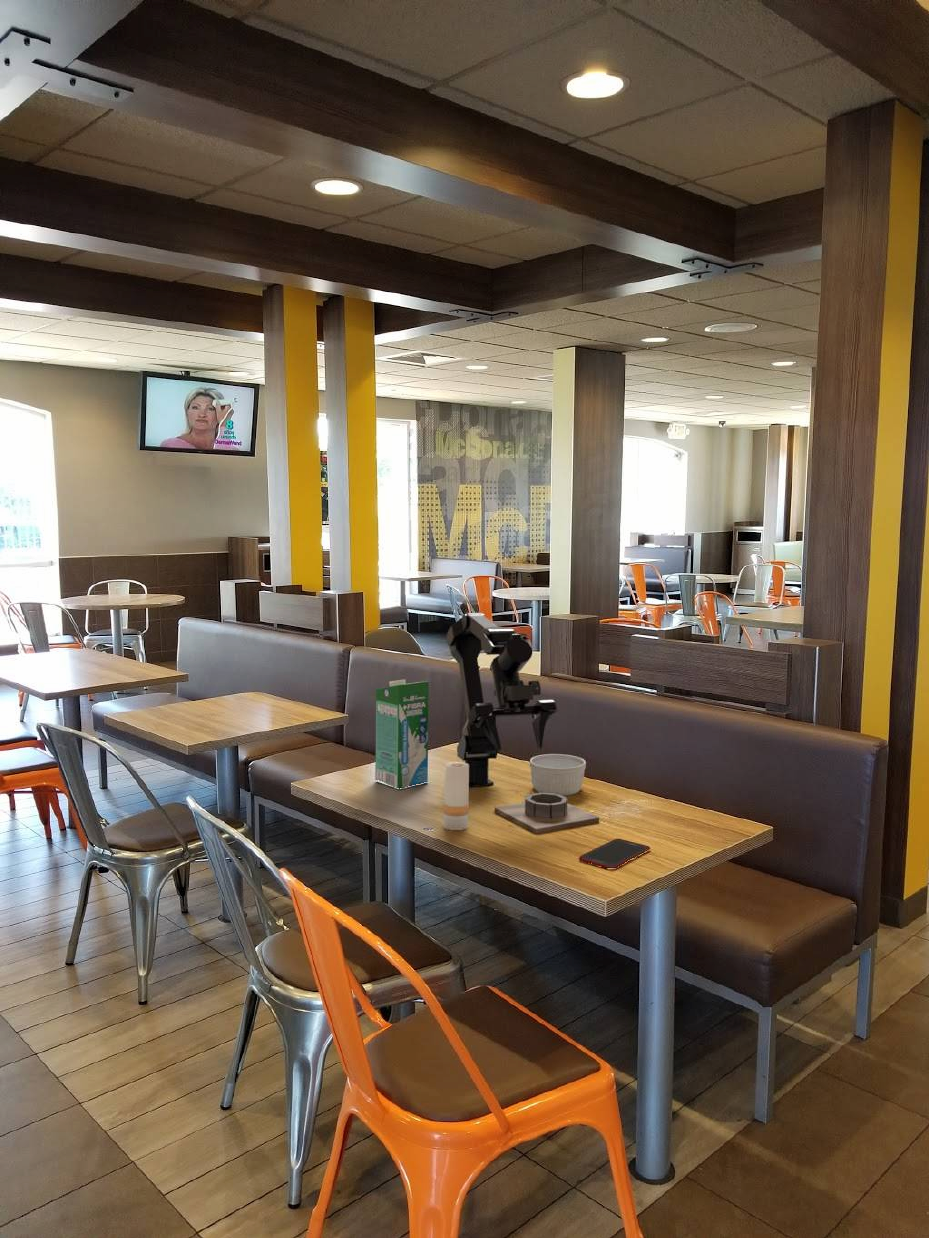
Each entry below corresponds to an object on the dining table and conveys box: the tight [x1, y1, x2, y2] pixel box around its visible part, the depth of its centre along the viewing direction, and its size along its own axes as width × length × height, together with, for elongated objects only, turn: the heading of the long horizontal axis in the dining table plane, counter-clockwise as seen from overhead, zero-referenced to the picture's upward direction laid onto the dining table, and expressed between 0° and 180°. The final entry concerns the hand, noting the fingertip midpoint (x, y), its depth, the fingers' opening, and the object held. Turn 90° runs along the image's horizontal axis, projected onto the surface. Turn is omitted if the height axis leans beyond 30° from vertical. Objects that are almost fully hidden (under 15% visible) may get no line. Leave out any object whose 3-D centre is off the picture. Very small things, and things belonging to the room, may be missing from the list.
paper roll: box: [443, 761, 470, 831], centre depth 193 cm, size 5×5×13 cm
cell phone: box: [578, 838, 651, 869], centre depth 178 cm, size 8×15×1 cm, turn 140°
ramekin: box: [529, 753, 587, 796], centre depth 221 cm, size 13×13×7 cm
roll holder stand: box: [494, 792, 600, 835], centre depth 200 cm, size 16×16×4 cm
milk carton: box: [374, 678, 430, 789], centre depth 224 cm, size 9×9×25 cm
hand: (520, 749), depth 198 cm, fingers open, 9 cm apart
